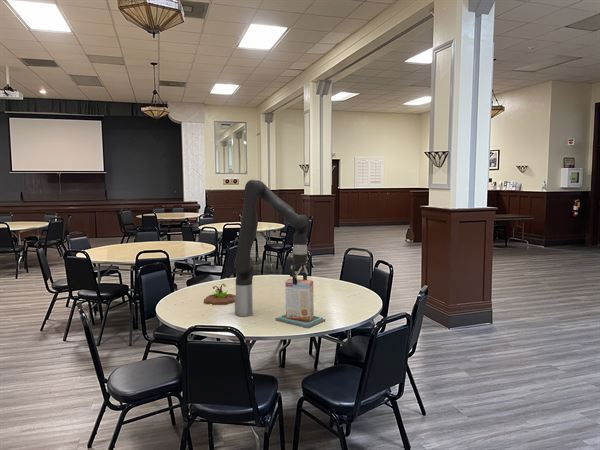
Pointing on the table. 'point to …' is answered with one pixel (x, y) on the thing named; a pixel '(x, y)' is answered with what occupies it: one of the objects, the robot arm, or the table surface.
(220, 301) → the plant
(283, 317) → the baseplate
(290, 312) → the cracker box
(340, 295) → the table surface
